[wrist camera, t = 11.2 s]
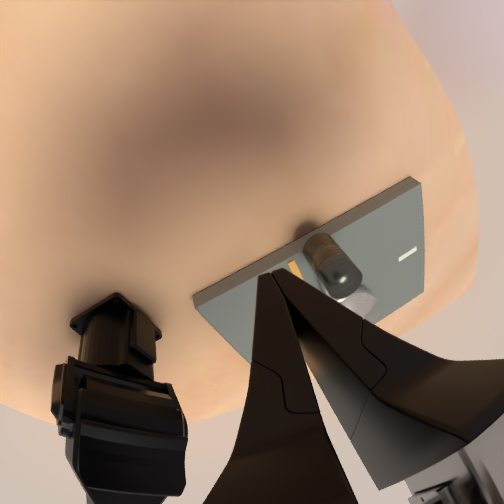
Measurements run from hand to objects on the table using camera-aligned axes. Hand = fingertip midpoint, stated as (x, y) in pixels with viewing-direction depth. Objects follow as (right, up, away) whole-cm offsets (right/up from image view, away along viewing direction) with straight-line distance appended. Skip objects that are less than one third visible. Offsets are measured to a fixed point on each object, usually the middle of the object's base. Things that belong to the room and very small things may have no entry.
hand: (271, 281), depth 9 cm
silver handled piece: (+7, -3, +17) cm, 19 cm away
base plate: (+7, -3, +20) cm, 21 cm away
